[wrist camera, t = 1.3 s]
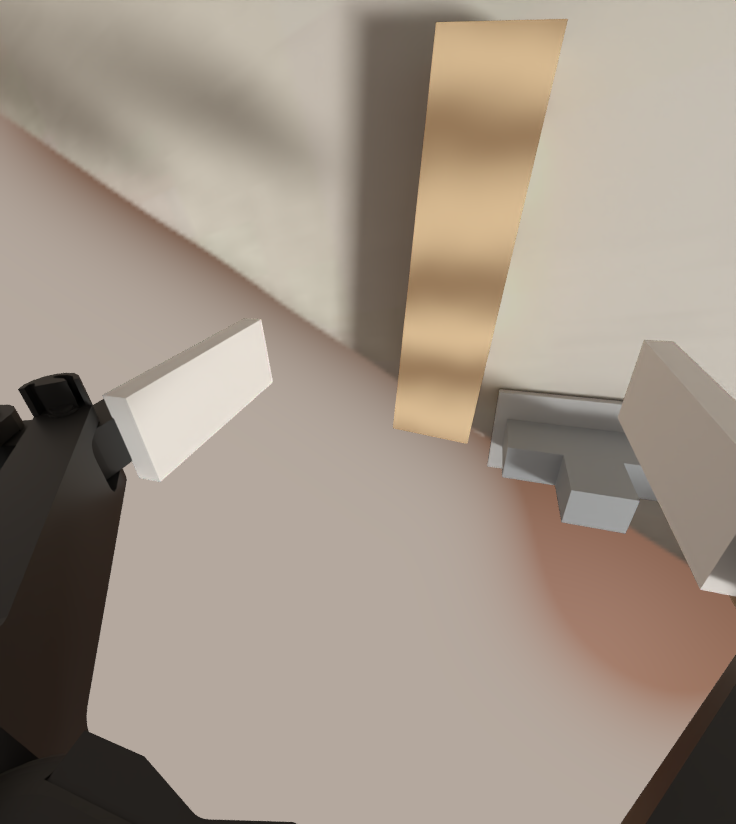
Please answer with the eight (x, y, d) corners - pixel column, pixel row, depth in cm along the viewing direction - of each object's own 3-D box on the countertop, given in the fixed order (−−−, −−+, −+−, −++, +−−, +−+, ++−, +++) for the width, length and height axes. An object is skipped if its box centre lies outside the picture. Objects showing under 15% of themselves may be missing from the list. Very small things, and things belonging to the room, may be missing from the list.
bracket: (499, 389, 33) (498, 449, 26) (690, 407, 29) (753, 484, 22) (487, 462, 37) (484, 532, 30) (654, 487, 33) (697, 574, 26)
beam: (449, 55, 24) (436, 22, 19) (553, 54, 22) (567, 18, 17) (407, 394, 36) (393, 428, 31) (472, 406, 35) (467, 443, 30)
